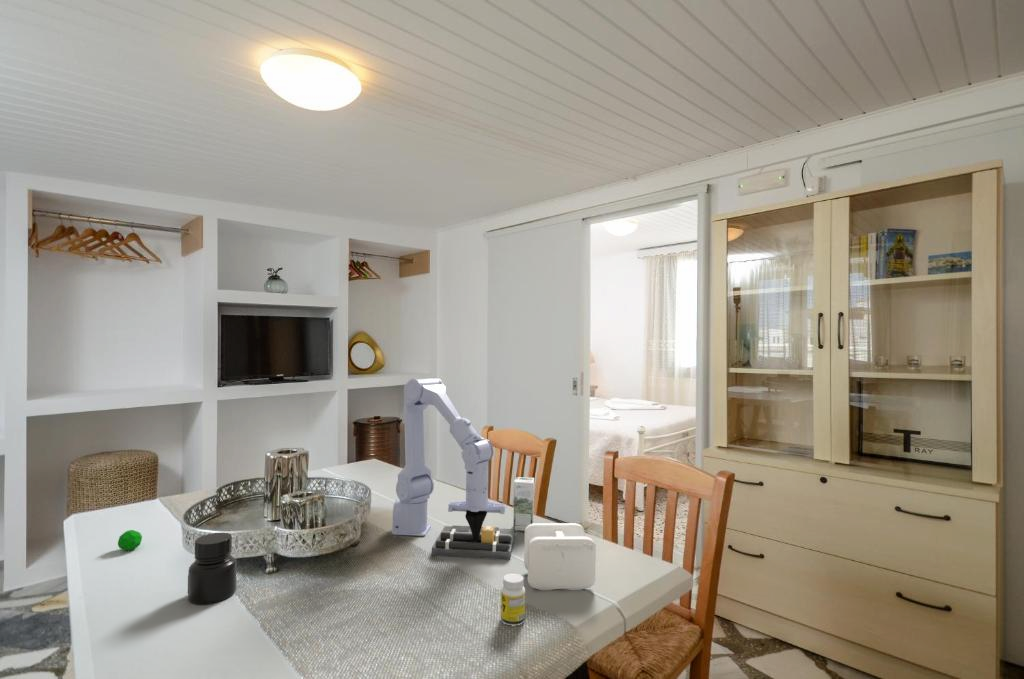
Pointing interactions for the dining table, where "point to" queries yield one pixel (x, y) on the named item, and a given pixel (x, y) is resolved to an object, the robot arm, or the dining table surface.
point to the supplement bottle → (513, 599)
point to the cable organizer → (559, 556)
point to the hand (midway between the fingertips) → (476, 539)
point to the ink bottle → (212, 569)
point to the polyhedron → (129, 540)
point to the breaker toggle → (487, 534)
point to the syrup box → (523, 503)
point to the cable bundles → (471, 545)
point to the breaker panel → (474, 552)
